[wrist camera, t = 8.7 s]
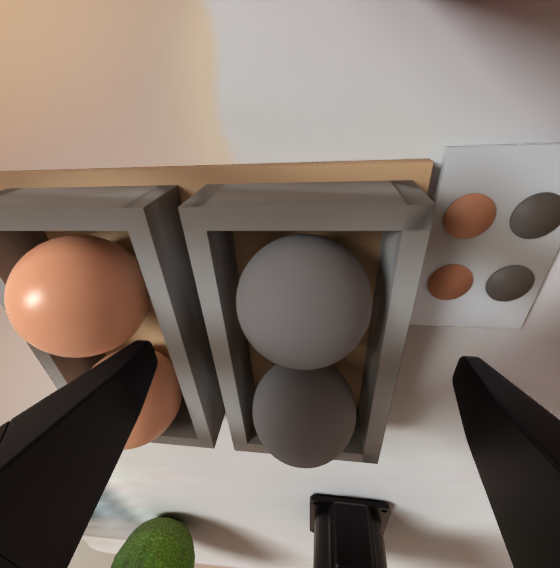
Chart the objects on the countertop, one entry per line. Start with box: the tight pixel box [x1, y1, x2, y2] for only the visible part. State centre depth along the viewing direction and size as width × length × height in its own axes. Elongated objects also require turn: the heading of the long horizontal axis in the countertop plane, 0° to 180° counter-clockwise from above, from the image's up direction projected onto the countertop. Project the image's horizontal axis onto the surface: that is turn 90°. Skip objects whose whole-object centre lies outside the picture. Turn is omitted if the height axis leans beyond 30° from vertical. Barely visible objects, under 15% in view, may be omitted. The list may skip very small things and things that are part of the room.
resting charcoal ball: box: [253, 364, 356, 468], centre depth 15 cm, size 5×5×5 cm
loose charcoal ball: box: [236, 234, 372, 370], centre depth 11 cm, size 5×5×5 cm
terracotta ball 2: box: [92, 350, 182, 450], centre depth 16 cm, size 5×5×5 cm
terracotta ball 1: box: [4, 235, 150, 358], centre depth 13 cm, size 5×5×5 cm
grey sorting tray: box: [0, 143, 560, 464], centre depth 15 cm, size 16×24×3 cm, turn 93°
